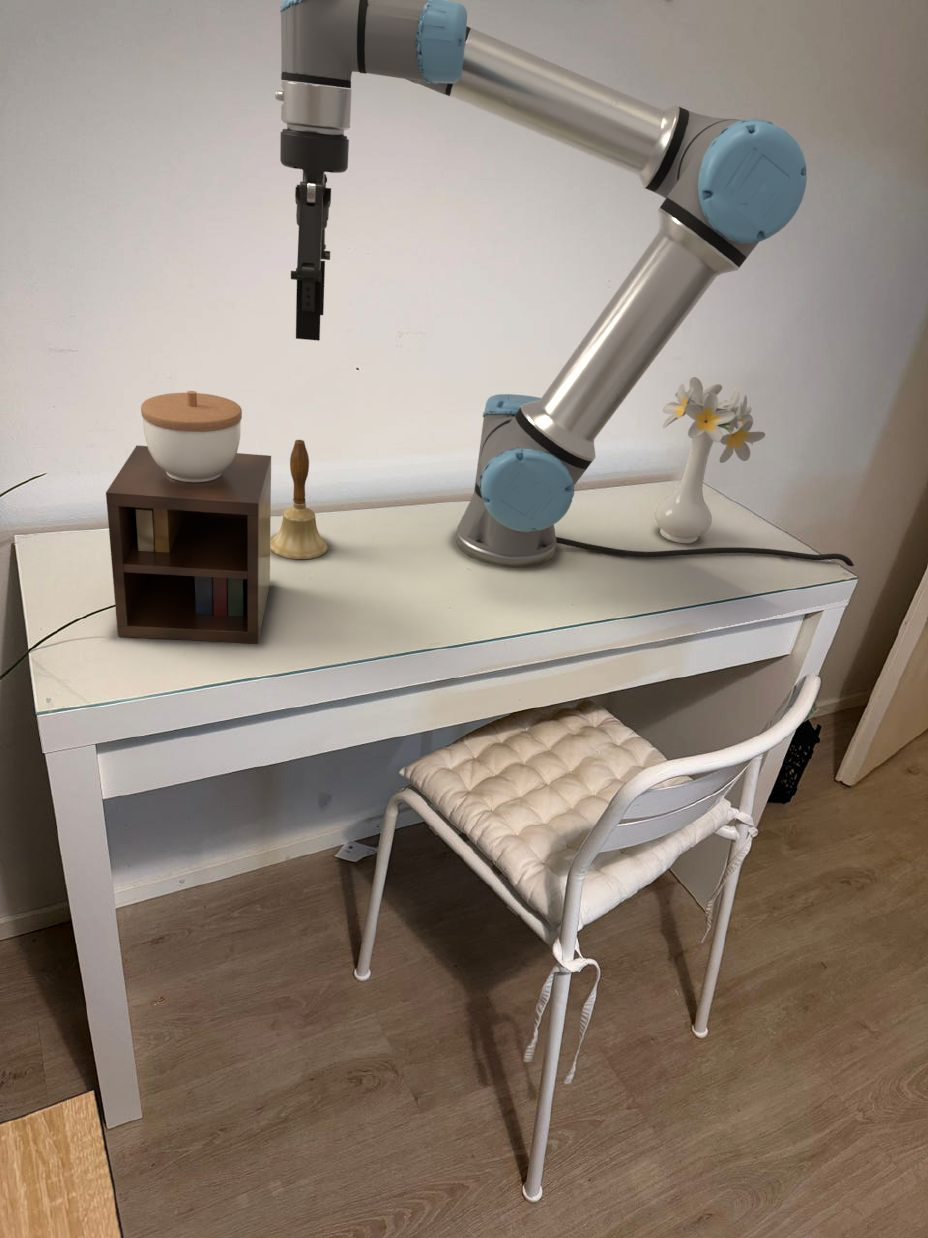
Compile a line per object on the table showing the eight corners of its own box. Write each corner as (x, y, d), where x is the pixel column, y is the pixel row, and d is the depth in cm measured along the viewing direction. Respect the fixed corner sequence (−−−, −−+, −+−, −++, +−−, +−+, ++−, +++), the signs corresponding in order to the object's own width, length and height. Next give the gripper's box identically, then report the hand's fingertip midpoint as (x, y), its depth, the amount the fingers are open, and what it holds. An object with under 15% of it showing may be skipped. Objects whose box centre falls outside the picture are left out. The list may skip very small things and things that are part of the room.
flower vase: (691, 566, 142) (733, 409, 130) (617, 519, 155) (649, 372, 143) (750, 556, 148) (796, 405, 136) (674, 511, 162) (709, 370, 149)
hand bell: (289, 564, 127) (292, 455, 119) (258, 541, 132) (258, 435, 124) (338, 552, 132) (344, 446, 124) (307, 530, 137) (310, 427, 129)
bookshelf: (269, 584, 121) (271, 455, 113) (258, 643, 109) (258, 503, 100) (144, 577, 119) (136, 445, 110) (117, 636, 106) (105, 492, 98)
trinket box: (218, 497, 100) (216, 413, 95) (126, 479, 101) (120, 396, 96) (256, 465, 109) (256, 388, 104) (172, 450, 110) (169, 372, 106)
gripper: (287, 121, 112) (285, 302, 122) (271, 130, 90) (270, 348, 100) (349, 129, 113) (342, 307, 123) (348, 139, 91) (339, 353, 102)
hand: (310, 326), depth 112 cm, fingers open, 13 cm apart
